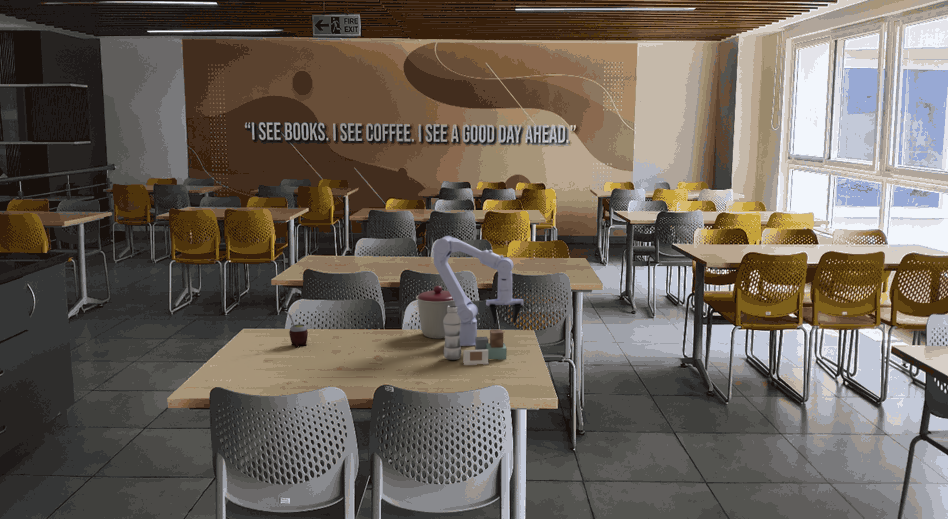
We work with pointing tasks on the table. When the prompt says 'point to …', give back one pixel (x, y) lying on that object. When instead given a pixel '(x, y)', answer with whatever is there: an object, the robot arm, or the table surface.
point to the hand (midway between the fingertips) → (504, 322)
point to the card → (475, 357)
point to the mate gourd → (298, 334)
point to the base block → (496, 352)
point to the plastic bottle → (452, 334)
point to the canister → (434, 311)
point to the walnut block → (496, 338)
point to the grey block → (480, 343)
